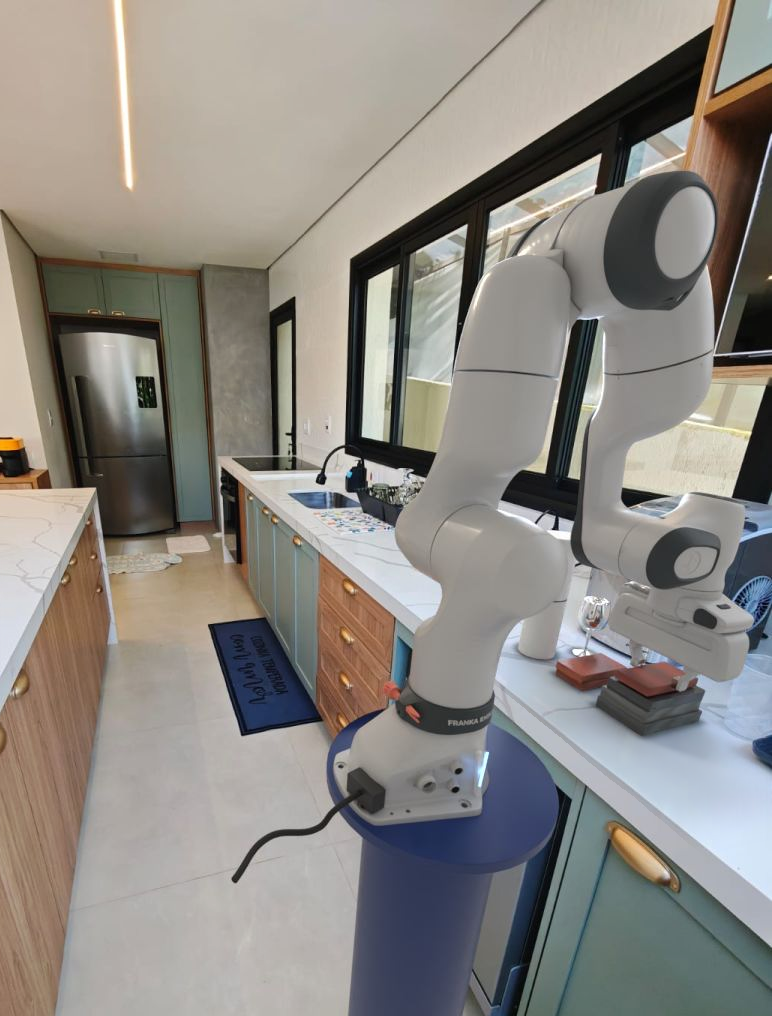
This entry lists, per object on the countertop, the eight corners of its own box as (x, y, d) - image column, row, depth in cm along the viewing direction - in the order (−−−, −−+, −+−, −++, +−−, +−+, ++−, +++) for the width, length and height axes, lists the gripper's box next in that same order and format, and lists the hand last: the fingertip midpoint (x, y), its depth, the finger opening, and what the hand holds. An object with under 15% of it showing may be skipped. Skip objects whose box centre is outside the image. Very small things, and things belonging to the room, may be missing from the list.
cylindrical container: (531, 660, 101) (556, 540, 92) (511, 644, 108) (533, 530, 98) (561, 657, 103) (590, 539, 94) (540, 642, 109) (564, 529, 100)
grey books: (641, 736, 79) (651, 704, 77) (595, 705, 87) (603, 675, 85) (698, 721, 84) (710, 691, 81) (649, 693, 91) (658, 664, 89)
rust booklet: (647, 696, 79) (649, 688, 78) (614, 677, 84) (617, 670, 83) (695, 686, 82) (698, 678, 82) (661, 668, 87) (664, 661, 87)
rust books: (579, 691, 91) (583, 677, 90) (553, 674, 97) (556, 660, 96) (624, 682, 95) (628, 668, 94) (597, 666, 100) (600, 652, 99)
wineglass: (581, 645, 109) (594, 593, 104) (605, 657, 104) (620, 603, 99) (562, 650, 106) (575, 597, 102) (586, 662, 101) (600, 607, 97)
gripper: (610, 579, 85) (591, 651, 91) (737, 628, 68) (704, 714, 73) (637, 576, 88) (617, 647, 93) (767, 623, 70) (734, 707, 75)
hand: (656, 677), depth 83 cm, fingers closed on rust booklet, 6 cm apart
